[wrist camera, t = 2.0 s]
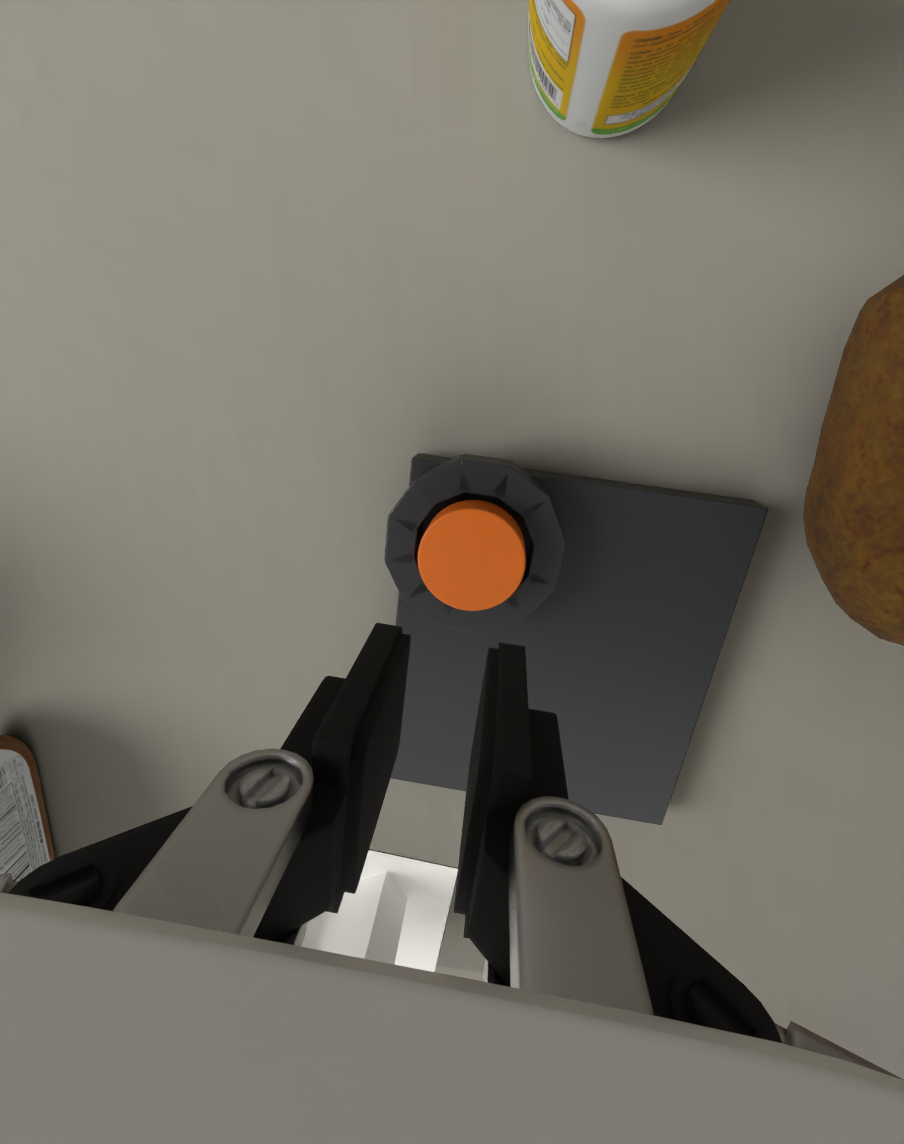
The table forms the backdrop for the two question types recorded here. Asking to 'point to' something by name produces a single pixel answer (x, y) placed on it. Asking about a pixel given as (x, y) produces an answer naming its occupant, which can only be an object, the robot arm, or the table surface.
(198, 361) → the table surface
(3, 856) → the tin
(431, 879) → the napkin holder
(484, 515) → the button
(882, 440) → the potato
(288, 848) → the robot arm
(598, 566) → the dark grey button base
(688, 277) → the table surface
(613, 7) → the supplement bottle
